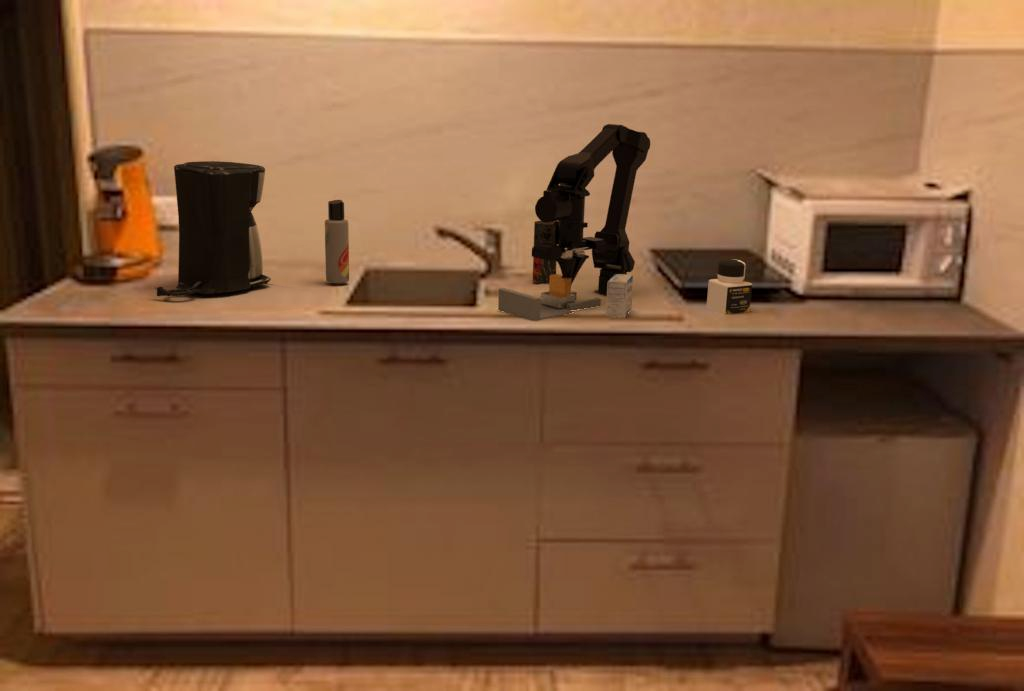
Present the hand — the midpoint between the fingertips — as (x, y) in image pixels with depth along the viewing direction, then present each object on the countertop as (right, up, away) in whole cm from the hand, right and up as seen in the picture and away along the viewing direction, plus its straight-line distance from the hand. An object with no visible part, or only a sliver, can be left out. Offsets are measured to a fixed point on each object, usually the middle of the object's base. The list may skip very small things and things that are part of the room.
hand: (568, 285), depth 232 cm
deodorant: (-5, +3, +27) cm, 28 cm away
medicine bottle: (+37, -6, +2) cm, 37 cm away
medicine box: (+11, -7, -4) cm, 14 cm away
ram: (-2, -4, -1) cm, 5 cm away
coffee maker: (-83, 0, +11) cm, 83 cm away
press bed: (-4, -6, -2) cm, 7 cm away
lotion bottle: (-56, +2, +20) cm, 60 cm away
